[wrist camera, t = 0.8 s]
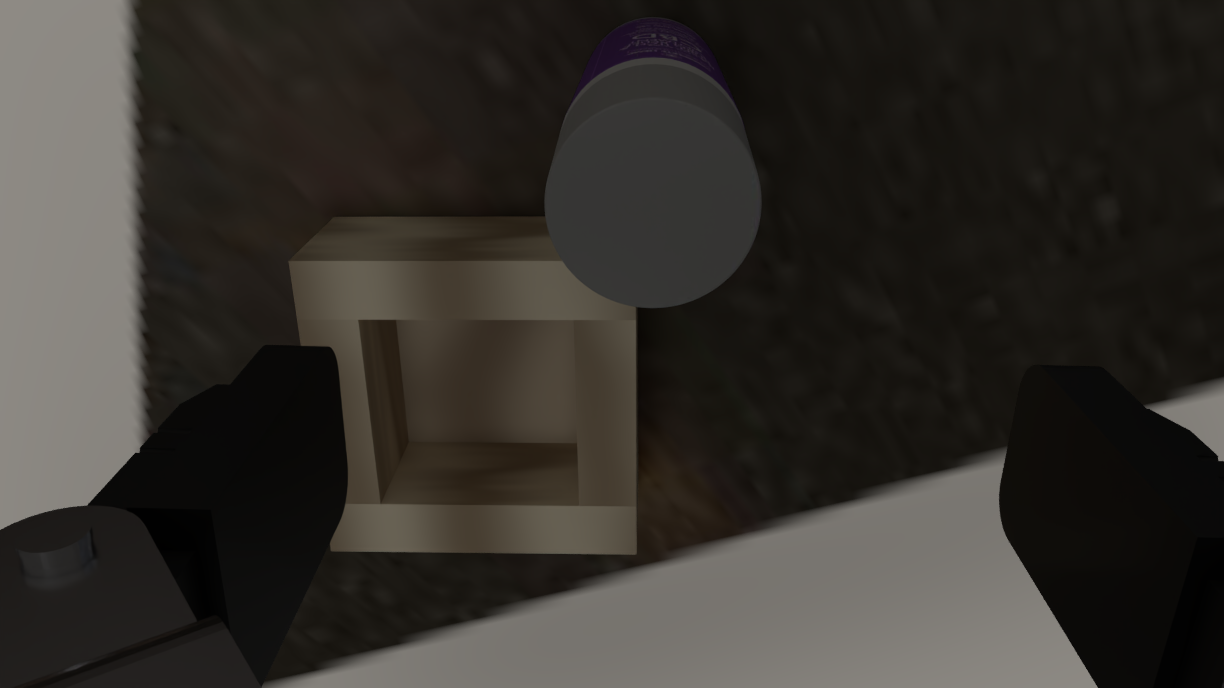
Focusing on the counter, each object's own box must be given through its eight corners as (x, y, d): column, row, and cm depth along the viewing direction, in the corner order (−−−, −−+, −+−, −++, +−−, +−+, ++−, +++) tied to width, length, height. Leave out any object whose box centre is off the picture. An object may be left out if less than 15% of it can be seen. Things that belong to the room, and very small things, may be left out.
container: (702, -2, 33) (738, 60, 19) (735, 135, 35) (790, 283, 21) (566, 39, 34) (507, 128, 20) (605, 171, 35) (576, 337, 22)
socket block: (637, 216, 36) (635, 260, 31) (638, 481, 40) (636, 554, 36) (334, 216, 36) (288, 261, 32) (367, 479, 41) (331, 551, 36)
